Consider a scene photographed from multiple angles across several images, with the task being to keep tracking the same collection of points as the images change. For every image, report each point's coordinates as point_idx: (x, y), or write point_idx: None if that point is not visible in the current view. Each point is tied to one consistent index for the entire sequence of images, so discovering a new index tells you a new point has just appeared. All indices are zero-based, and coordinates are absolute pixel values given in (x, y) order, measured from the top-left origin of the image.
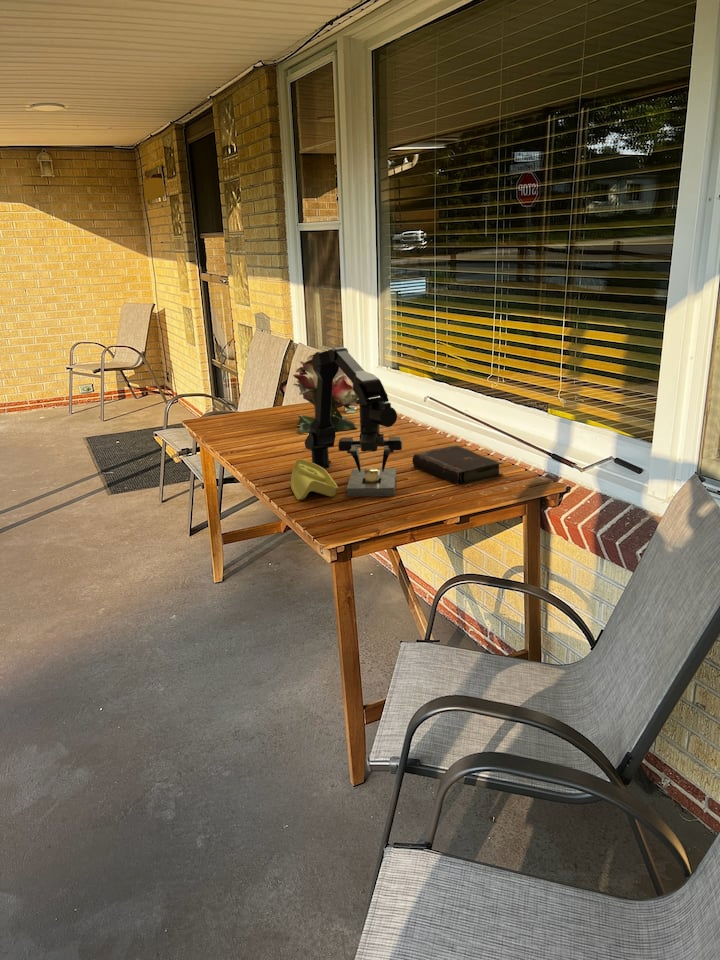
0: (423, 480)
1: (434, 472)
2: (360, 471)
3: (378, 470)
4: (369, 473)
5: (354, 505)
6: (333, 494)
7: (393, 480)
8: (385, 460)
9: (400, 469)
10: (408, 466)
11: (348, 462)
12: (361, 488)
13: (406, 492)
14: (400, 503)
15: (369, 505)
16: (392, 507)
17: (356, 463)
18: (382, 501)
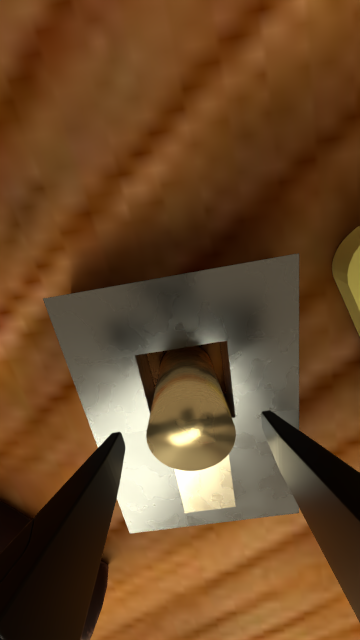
0: (32, 467)
1: (2, 521)
2: (261, 415)
3: (188, 503)
4: (194, 391)
5: (216, 121)
6: (345, 241)
7: (89, 405)
8: (26, 537)
9: (140, 542)
10: (125, 563)
11: (308, 573)
12: (215, 268)
13: (39, 345)
14: (5, 194)
15: (141, 135)
16: (17, 119)
17: (339, 462)
18: (97, 211)
